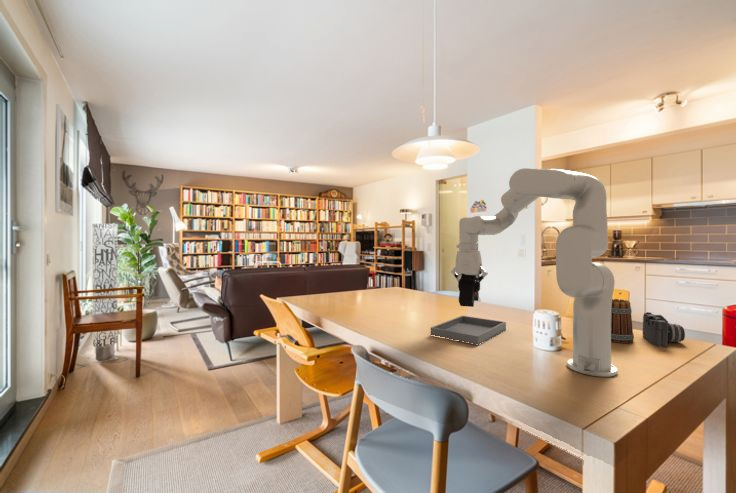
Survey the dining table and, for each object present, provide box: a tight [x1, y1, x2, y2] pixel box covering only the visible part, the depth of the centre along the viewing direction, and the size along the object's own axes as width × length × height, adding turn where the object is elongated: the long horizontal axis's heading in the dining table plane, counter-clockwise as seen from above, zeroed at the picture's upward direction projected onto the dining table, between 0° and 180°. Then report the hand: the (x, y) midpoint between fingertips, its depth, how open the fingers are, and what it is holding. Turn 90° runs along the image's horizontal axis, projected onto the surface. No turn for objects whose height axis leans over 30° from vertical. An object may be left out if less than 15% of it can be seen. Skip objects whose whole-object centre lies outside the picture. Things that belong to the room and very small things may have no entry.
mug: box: [611, 298, 635, 344], centre depth 131 cm, size 16×11×15 cm
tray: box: [430, 315, 507, 344], centre depth 142 cm, size 28×20×4 cm
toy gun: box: [458, 274, 480, 308], centre depth 142 cm, size 5×18×12 cm
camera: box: [642, 311, 686, 348], centre depth 127 cm, size 14×11×10 cm
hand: (469, 290), depth 142 cm, fingers closed on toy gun, 6 cm apart
